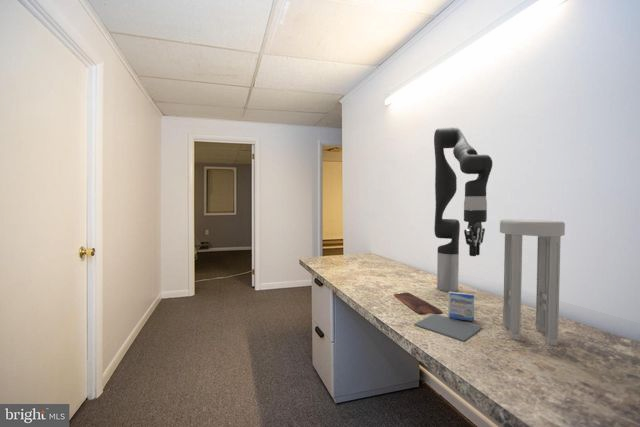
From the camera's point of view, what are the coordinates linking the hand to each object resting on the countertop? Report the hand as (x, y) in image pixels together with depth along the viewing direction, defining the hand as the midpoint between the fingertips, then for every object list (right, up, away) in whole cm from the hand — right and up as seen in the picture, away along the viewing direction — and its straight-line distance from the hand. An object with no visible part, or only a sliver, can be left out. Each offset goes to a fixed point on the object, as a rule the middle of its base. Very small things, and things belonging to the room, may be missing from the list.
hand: (474, 255), depth 110 cm
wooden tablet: (-19, -22, +11) cm, 30 cm away
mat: (-16, -21, -13) cm, 30 cm away
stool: (+7, -22, -19) cm, 30 cm away
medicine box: (-8, -21, -7) cm, 24 cm away
